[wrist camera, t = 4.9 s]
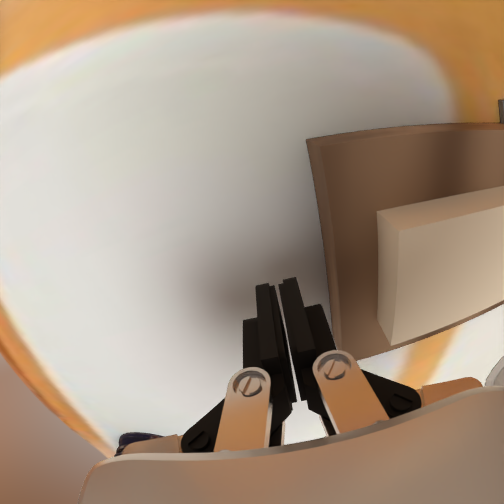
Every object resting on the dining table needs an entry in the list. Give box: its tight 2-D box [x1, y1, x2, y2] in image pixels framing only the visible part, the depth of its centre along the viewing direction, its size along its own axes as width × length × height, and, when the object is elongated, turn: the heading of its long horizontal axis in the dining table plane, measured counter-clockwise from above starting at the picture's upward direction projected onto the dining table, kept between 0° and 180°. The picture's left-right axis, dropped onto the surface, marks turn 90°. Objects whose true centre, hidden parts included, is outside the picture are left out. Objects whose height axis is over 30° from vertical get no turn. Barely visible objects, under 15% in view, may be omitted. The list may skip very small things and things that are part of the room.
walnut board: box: [306, 123, 504, 361], centre depth 13 cm, size 13×12×2 cm
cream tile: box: [377, 186, 504, 346], centre depth 11 cm, size 9×6×2 cm, turn 103°
